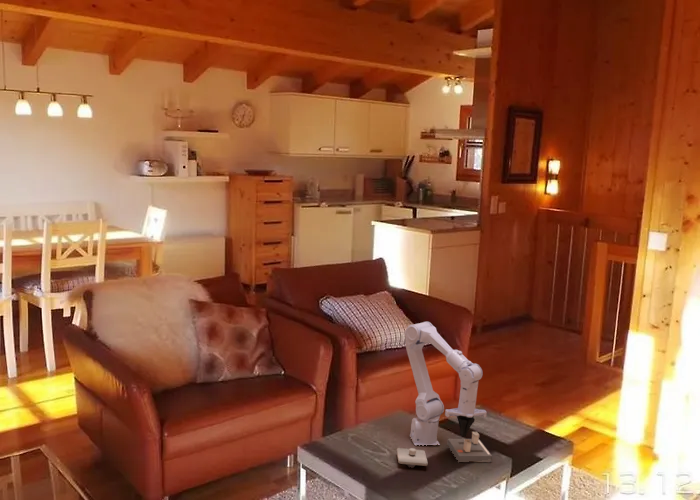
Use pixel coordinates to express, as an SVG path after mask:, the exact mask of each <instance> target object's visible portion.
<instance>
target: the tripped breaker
mask: <svg viewBox="0 0 700 500" xmlns="http://www.w3.org/2000/svg"><path fill="white" fill-rule="evenodd" d="M463 439H464V448H463V449H464V450H465V452H470V448H471V441H470V440H469V439H470V438H463Z"/></svg>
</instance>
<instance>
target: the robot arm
mask: <svg viewBox="0 0 700 500" xmlns="http://www.w3.org/2000/svg"><path fill="white" fill-rule="evenodd" d="M403 334H404V337H405V348H406V349H405V350H406V353H407V357H408V360H409V364H410V367H411V371H412V375H413V379H414V383H415V386H416V390H417V393H418V395H417V397H416V399H415V401H414V403H415V414H416V416H417V417H413V418H412V419H411V425H410V434H409V437H411V438H410V440H411V439H412V440H411V441H412V443H413V445H414V446H415V447H419V446H420V445H422V446H424V445H426V446H427V445H437V444H438V445H441V444H440V442H439V441H438V437H437V436H438V431H439V421H440V418H441V415H442V414H443V413H444V415H445V417H447V418H450V417H456V420H457V421H458V426H459V432H460V436H461V437H464V438H465V437H467V435H468V432H469V430H470V428H471V426H473V424H474V423H475V417H483V418H487V411H486V409H478V408H476V404H477V396H478V387H479V380H481V379H482V378H483V369H482V367H481V366H480V364H478V363H473V362H472V361H471V360H469V359H468V358H467V357H466V356H465V355H464V354H463V351H462V350H458V349H453V348H452V347H451V346H450V345H449V344H448V342H447V341H446V339H444V338H443V337H442V336H441V335H440V333H439V332H438V331H437V327H435V326H434V325H433V324H432V323H431V322H430V321H423V322H420V323H419V322H418V323H415V324H413V323H412V324H409V325H408V326H407V327H406V329H405V331H404V333H403ZM428 343H429V344H430V345H432V346H433V347H434V348H435V349H437V350H438V351H439V352H440V353H442V355H443V356H445V360H446V362H447V363H448V365H449V366H450V367H452V368H453V370H454V371H456V373H457V374H458V377H459V379H460V389H459V390H460V392H459V398H458V399H459V400H458V405H457V407H455V408H450V409H447V408H446V409H445V405H444V403H443V401H442V400H441V398H440V395H439V394H438V393H437V392H436V391H434V389H433V385H432V382H431V378H430V375H429V371H428V370H429V369H428V367H427V364H426V360H425V357H424V356H425V355H424V352H423V348H424V346H425V344H428ZM444 411H445V412H444ZM417 445H419V446H417ZM422 446H421V447H422ZM426 446H425V447H426ZM427 447H428V446H427Z"/></svg>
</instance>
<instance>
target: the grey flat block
mask: <svg viewBox="0 0 700 500" xmlns="http://www.w3.org/2000/svg"><path fill="white" fill-rule="evenodd" d="M464 439H465V438H447V441H446V446H447V445H448V446H449V447H448V446H447V447H448V449H449V448H450V449H449V450H450V452H451V451H452V452H451V454H452V455H453V454H454V455H453V456H454V458H455V457H456V458H455V460H456V461H457V460H458V461H457V463H459V462H469V461H482V460H488V459H493V455H492V454H491V452H490V451H489V449H487V447H486V446H485V445H484V443H483V442H482V441H481V440H480V439H478V444H473V442H472V441H471V440H472V438H468V439H469V440H470V441H471V448H470V452H465V450H464V449H463V448H464Z"/></svg>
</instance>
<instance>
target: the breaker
mask: <svg viewBox="0 0 700 500" xmlns="http://www.w3.org/2000/svg"><path fill="white" fill-rule="evenodd" d="M479 438H480V434H479V433H478V431H471V439H472V440H471V441H472V442H473V444H478V439H479ZM479 440H480V439H479Z"/></svg>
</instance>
